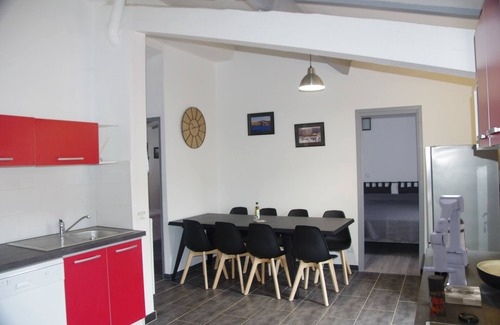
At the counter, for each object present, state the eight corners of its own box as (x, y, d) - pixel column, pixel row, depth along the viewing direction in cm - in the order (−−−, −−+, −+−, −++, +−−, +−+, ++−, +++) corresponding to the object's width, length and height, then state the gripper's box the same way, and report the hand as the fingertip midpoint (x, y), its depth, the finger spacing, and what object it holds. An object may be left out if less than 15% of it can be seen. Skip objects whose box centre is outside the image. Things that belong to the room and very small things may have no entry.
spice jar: (427, 312, 163) (424, 276, 163) (438, 310, 165) (435, 274, 165) (438, 317, 158) (435, 280, 158) (449, 314, 160) (447, 277, 160)
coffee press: (438, 260, 241) (435, 211, 241) (468, 261, 234) (464, 211, 234) (438, 267, 226) (434, 215, 226) (470, 269, 219) (466, 215, 219)
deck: (438, 289, 190) (438, 284, 190) (479, 292, 182) (479, 287, 182) (437, 301, 174) (436, 296, 174) (481, 306, 166) (481, 300, 166)
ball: (444, 289, 182) (444, 282, 182) (452, 290, 181) (451, 283, 181) (444, 291, 180) (444, 284, 180) (452, 292, 178) (451, 285, 178)
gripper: (422, 260, 181) (424, 289, 181) (457, 261, 175) (459, 292, 175) (423, 256, 188) (425, 284, 188) (457, 257, 181) (459, 287, 181)
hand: (442, 288), depth 182 cm, fingers closed
